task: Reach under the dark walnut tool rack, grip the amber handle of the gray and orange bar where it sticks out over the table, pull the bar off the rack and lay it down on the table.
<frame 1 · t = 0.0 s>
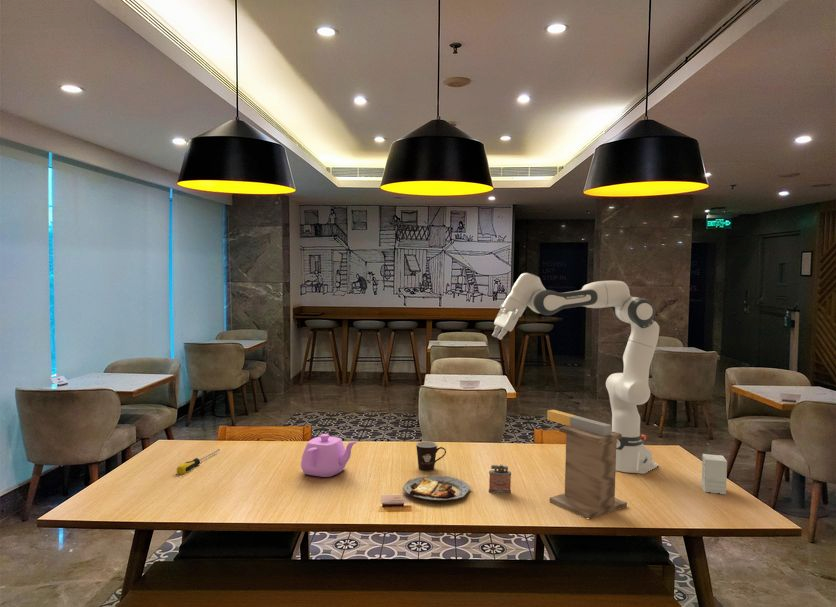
hand: (496, 337, 230), 54 cm above the table, tool tilted 30°, fingers open, 8 cm apart
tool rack: (587, 504, 196), on the table
food plate: (436, 493, 205), on the table
lighter: (499, 492, 206), on the table
screwdriver: (200, 463, 234), on the table
supplement box: (713, 490, 212), on the table
teapot: (325, 472, 225), on the table
gray and orange bar: (577, 426, 200), point 26 cm above the table, touching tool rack
coffee mug: (429, 469, 230), on the table
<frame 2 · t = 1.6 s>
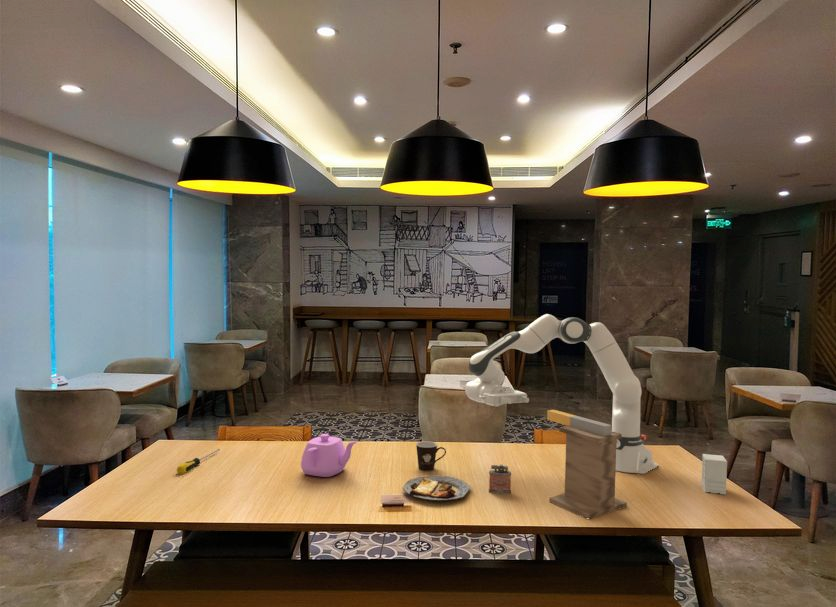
hand: (519, 401, 223), 30 cm above the table, tool horizontal, fingers open, 8 cm apart
nothing on the table moved.
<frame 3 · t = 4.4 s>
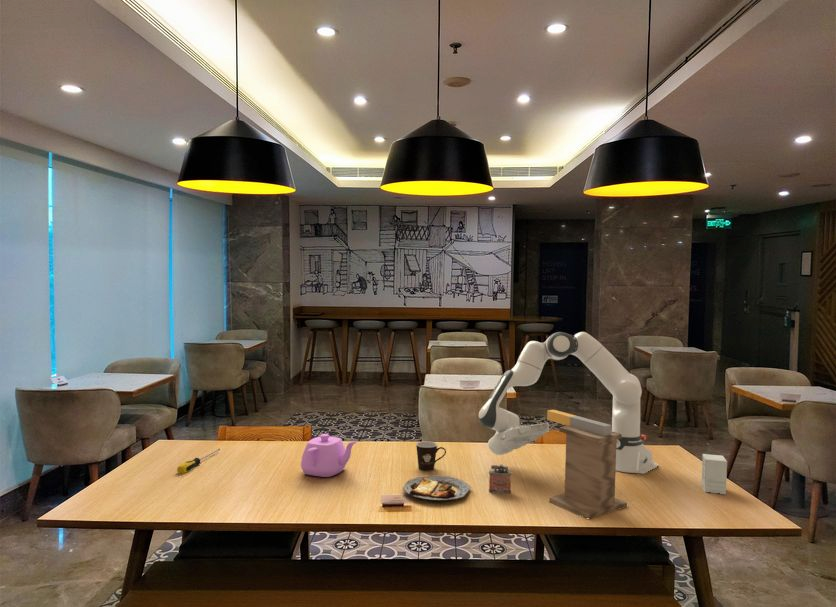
hand: (539, 425, 216), 22 cm above the table, tool pointing upward, fingers open, 8 cm apart
nothing on the table moved.
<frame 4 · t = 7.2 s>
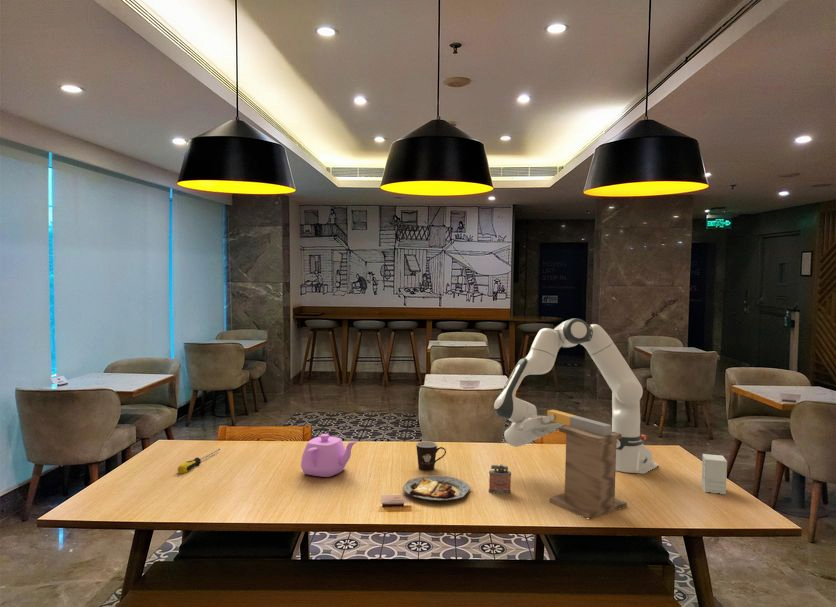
hand: (559, 415, 207), 28 cm above the table, tool pointing upward, fingers closed on gray and orange bar, 3 cm apart
gray and orange bar: (577, 426, 200), point 26 cm above the table, touching gripper, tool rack
everything else where it was.
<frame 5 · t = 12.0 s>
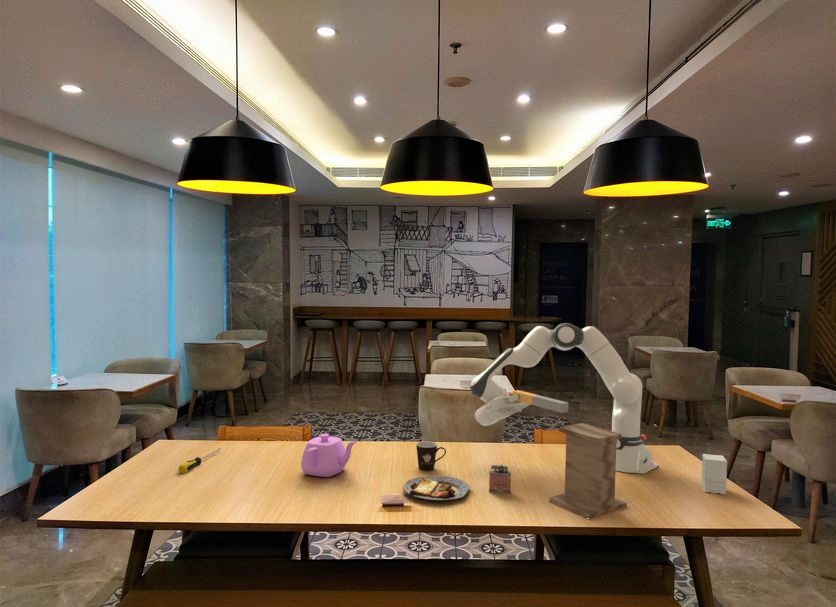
hand: (523, 395, 223), 32 cm above the table, tool pointing upward, fingers closed on gray and orange bar, 3 cm apart
gray and orange bar: (539, 405, 215), point 30 cm above the table, touching gripper
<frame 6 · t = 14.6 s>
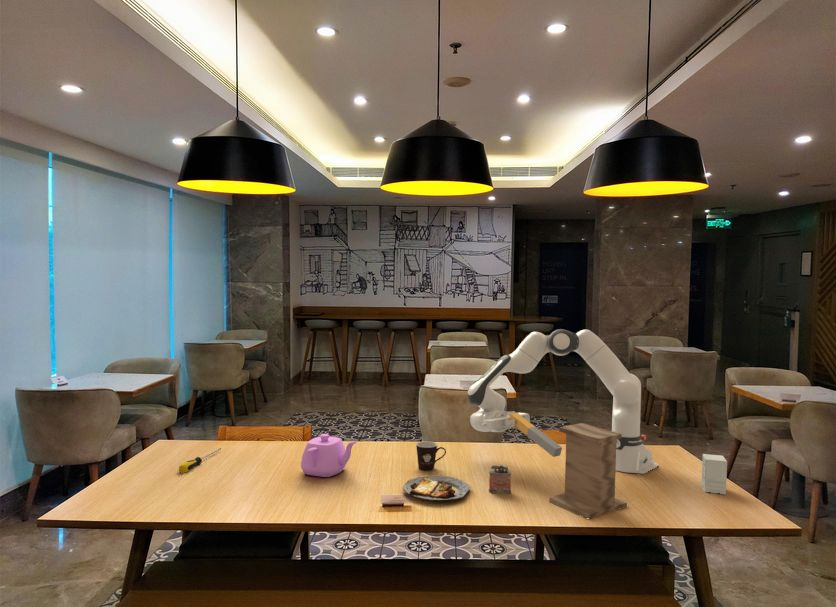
hand: (520, 421, 223), 22 cm above the table, tool horizontal, fingers closed on gray and orange bar, 3 cm apart
gray and orange bar: (533, 437, 217), point 17 cm above the table, tilted 17°, touching gripper
when the fingers open (14 cm above the table, at t = 16.7 s): gray and orange bar drops 8 cm, on the table.
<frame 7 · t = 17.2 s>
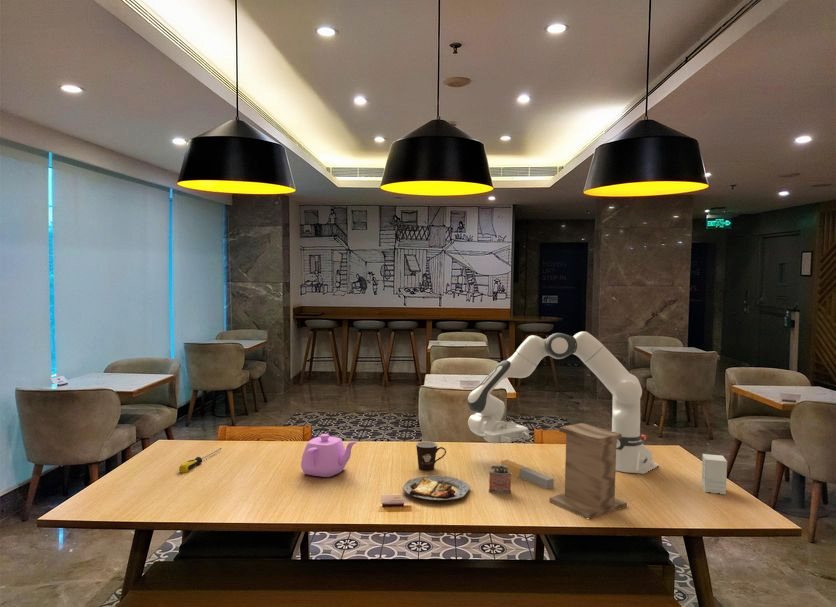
hand: (519, 438, 225), 14 cm above the table, tool horizontal, fingers open, 8 cm apart
gray and orange bar: (525, 477, 222), on the table
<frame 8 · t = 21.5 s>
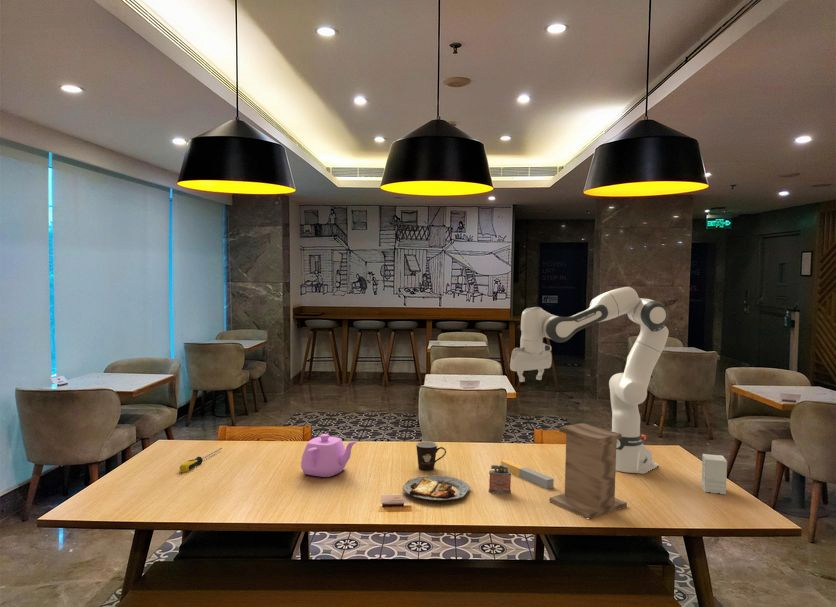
hand: (530, 380, 229), 37 cm above the table, tool pointing down, fingers open, 8 cm apart
at the end: gray and orange bar inside the target area (0.7 cm from its centre), on the table; gray and orange bar touching table; the gripper is holding nothing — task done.
